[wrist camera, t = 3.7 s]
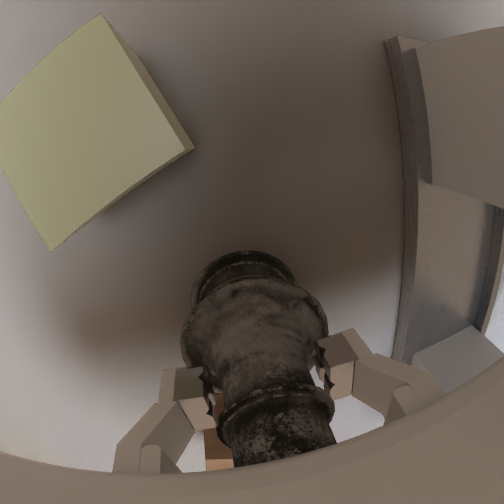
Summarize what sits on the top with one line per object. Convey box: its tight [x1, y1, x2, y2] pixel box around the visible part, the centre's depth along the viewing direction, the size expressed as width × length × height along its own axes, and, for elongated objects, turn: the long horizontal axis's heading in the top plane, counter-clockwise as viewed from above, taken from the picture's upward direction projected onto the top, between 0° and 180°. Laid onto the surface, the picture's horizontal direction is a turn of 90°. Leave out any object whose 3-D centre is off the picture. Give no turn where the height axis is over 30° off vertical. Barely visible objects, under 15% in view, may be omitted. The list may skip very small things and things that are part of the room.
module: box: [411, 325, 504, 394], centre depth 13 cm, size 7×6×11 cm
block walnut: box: [204, 393, 234, 471], centre depth 15 cm, size 5×5×5 cm
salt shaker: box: [180, 251, 337, 468], centre depth 9 cm, size 6×6×12 cm
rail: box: [382, 36, 504, 419], centre depth 14 cm, size 26×8×2 cm, turn 10°
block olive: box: [0, 13, 195, 252], centre depth 8 cm, size 5×5×5 cm
